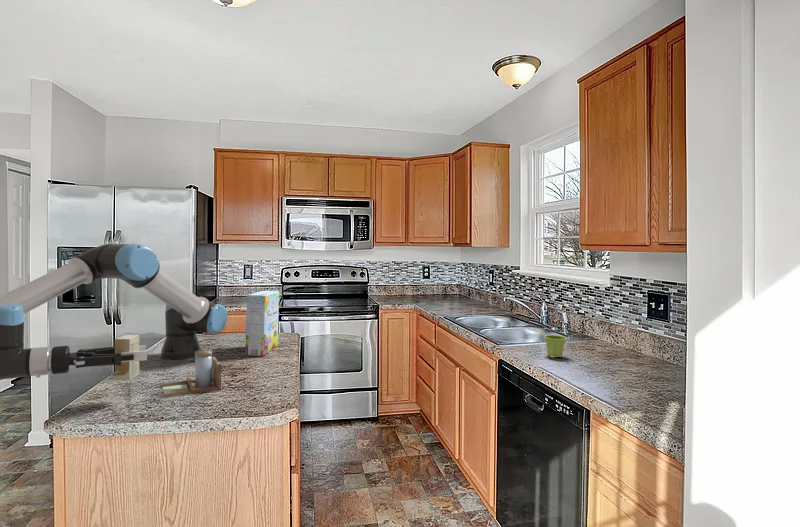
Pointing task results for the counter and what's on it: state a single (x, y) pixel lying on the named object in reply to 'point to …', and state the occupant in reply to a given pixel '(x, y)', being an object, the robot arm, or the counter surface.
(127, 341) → the skincare box
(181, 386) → the rack
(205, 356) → the spice jar
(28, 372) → the robot arm
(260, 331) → the snack box
